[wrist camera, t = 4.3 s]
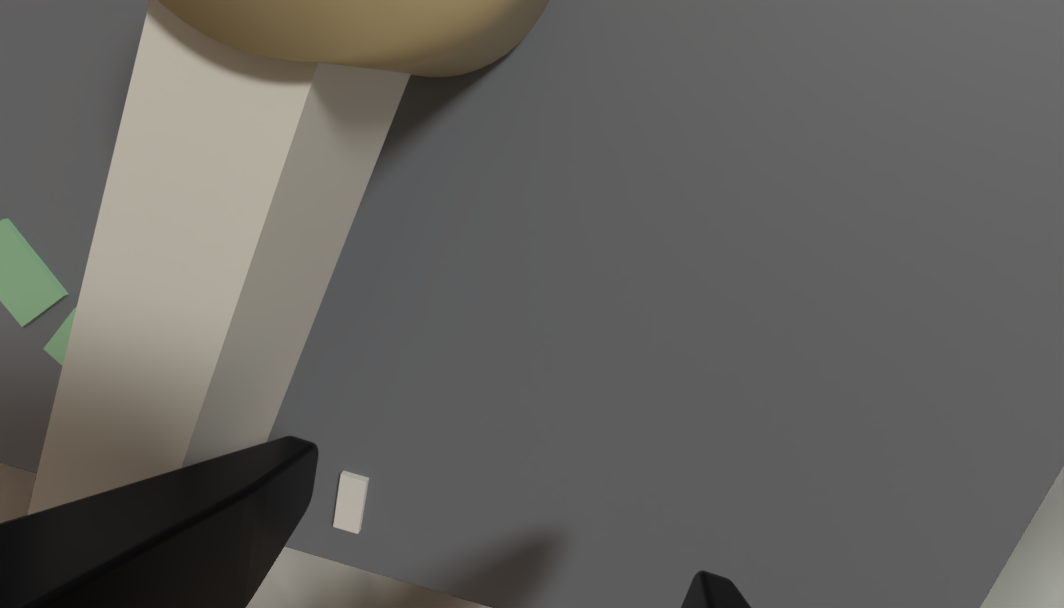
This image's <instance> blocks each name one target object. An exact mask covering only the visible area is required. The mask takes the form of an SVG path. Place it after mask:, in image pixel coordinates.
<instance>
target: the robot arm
mask: <svg viewBox="0 0 1064 608" xmlns="http://www.w3.org/2000/svg"><path fill="white" fill-rule="evenodd" d="M318 456H319V450H318V447H317V445H316V444H315V443H313V442H310V441H307V440H304V439H301V438H298V437H295V436H284V437H281V438H278V439H275V440H271V441H268V442H265V443H261V444H258V445H255V446H252V447H248V448H245V449H242V450H239V451H235V452H232V453H229V454H226V455H222V456H219V457H216V458H213V459H209V460H206V461H203V462H199V463H196V464H193V465H190V466H186V467H183V468H180V469H177V470H173V471H170V472H167V473H164V474H160V475H157V476H154V477H151V478H147V479H144V480H141V481H137V482H134V483H131V484H128V485H124V486H121V487H118V488H115V489H111V490H108V491H105V492H102V493H98V494H95V495H92V496H88V497H85V498H82V499H79V500H75V501H72V502H69V503H66V504H62V505H59V506H56V507H52V508H49V509H46V510H43V511H39V512H36V513H33V514H30V515H26V516H23V517H20V518H16V519H13V520H10V521H7V522H3V523H0V608H246V606H247V605H248V603H249V602H250V600H251V599H252V597H253V596H254V594H255V593H256V591H257V589H258V588H259V586H260V585H261V583H262V581H263V580H264V578H265V577H266V575H267V573H268V572H269V570H270V569H271V567H272V565H273V564H274V562H275V561H276V559H277V557H278V556H279V554H280V553H281V551H282V549H283V548H284V546H285V545H286V543H287V541H288V540H289V538H290V537H291V535H292V533H293V532H294V530H295V529H296V527H297V525H298V524H299V522H300V521H301V519H302V517H303V516H304V514H305V512H306V511H307V509H308V507H309V504H310V502H311V499H312V495H313V489H314V483H315V476H316V469H317V463H318ZM681 608H751V606H750V605H749V604H748V602H747V601H746V599H745V598H744V597H743V595H742V594H741V593H740V591H739V590H738V588H737V587H736V586H735V584H734V583H733V582H732V581H731V580H730V579H728V578H726V577H723V576H720V575H717V574H713V573H710V572H707V571H704V570H701V571H699V572H697V573H696V574H695V576H694V578H693V580H692V582H691V585H690V587H689V589H688V592H687V594H686V597H685V599H684V601H683V604H682V606H681Z"/></svg>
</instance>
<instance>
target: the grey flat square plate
mask: <svg viewBox="0 0 1064 608" xmlns="http://www.w3.org/2000/svg"><path fill="white" fill-rule="evenodd" d="M149 1H150V0H0V463H4V464H7V465H10V466H14V467H17V468H21V469H24V470H27V471H31V472H34V473H37V471H38V467H39V463H40V458H41V454H42V450H43V446H44V442H45V438H46V433H47V429H48V425H49V421H50V417H51V412H52V408H53V404H54V400H55V396H56V391H57V387H58V383H59V379H60V375H61V370H62V366H63V362H64V358H65V354H66V349H67V345H68V341H69V337H70V333H71V328H72V324H73V320H74V316H75V312H76V307H77V303H78V299H79V295H80V291H81V287H82V282H83V278H84V274H85V270H86V266H87V261H88V257H89V253H90V249H91V245H92V240H93V236H94V232H95V228H96V224H97V219H98V215H99V211H100V207H101V203H102V198H103V194H104V190H105V186H106V182H107V177H108V173H109V169H110V165H111V161H112V157H113V152H114V148H115V144H116V140H117V136H118V131H119V127H120V123H121V119H122V115H123V110H124V106H125V102H126V98H127V94H128V89H129V85H130V81H131V77H132V73H133V68H134V64H135V60H136V56H137V52H138V47H139V43H140V39H141V35H142V31H143V27H144V22H145V18H146V14H147V10H148V6H149ZM284 436H295V437H298V438H301V439H304V440H307V441H310V442H313V443H315V444H316V445H317V447H318V450H319V456H318V463H317V469H316V476H315V483H314V489H313V495H312V499H311V502H310V504H309V507H308V509H307V511H306V512H305V514H304V516H303V517H302V519H301V521H300V522H299V524H298V525H297V527H296V529H295V530H294V532H293V533H292V535H291V537H290V538H289V540H288V541H287V543H286V545H285V547H288V548H292V549H295V550H299V551H302V552H305V553H309V554H312V555H316V556H319V557H322V558H326V559H329V560H333V561H336V562H339V563H343V564H346V565H349V566H353V567H356V568H360V569H363V570H366V571H370V572H373V573H377V574H380V575H383V576H387V577H390V578H394V579H397V580H400V581H404V582H407V583H411V584H414V585H417V586H421V587H424V588H427V589H431V590H434V591H438V592H441V593H444V594H448V595H451V596H455V597H458V598H461V599H465V600H468V601H472V602H475V603H478V604H482V605H485V606H489V607H492V608H681V606H682V604H683V601H684V599H685V597H686V594H687V592H688V589H689V587H690V585H691V582H692V580H693V578H694V576H695V574H696V573H697V572H699V571H701V570H704V571H707V572H710V573H713V574H717V575H720V576H723V577H726V578H728V579H730V580H731V581H732V582H733V583H734V584H735V586H736V587H737V588H738V590H739V591H740V593H741V594H742V595H743V597H744V598H745V599H746V601H747V602H748V604H749V605H750V606H751V608H980V606H981V605H982V603H983V601H984V600H985V598H986V596H987V594H988V593H989V591H990V589H991V588H992V586H993V584H994V583H995V581H996V579H997V578H998V576H999V574H1000V572H1001V571H1002V569H1003V567H1004V566H1005V564H1006V562H1007V561H1008V559H1009V557H1010V556H1011V554H1012V552H1013V550H1014V549H1015V547H1016V545H1017V544H1018V542H1019V540H1020V539H1021V537H1022V535H1023V533H1024V532H1025V530H1026V528H1027V527H1028V525H1029V523H1030V522H1031V520H1032V518H1033V517H1034V515H1035V513H1036V511H1037V510H1038V508H1039V506H1040V505H1041V503H1042V501H1043V500H1044V498H1045V496H1046V495H1047V493H1048V491H1049V489H1050V488H1051V486H1052V484H1053V483H1054V481H1055V479H1056V478H1057V476H1058V474H1059V473H1060V471H1061V469H1062V467H1063V466H1064V0H549V2H548V4H547V6H546V7H545V9H544V11H543V13H542V15H541V16H540V18H539V19H538V21H537V22H536V24H535V25H534V26H533V28H532V29H531V31H530V32H529V33H528V34H527V35H526V36H525V37H524V38H523V39H522V41H521V42H520V43H519V44H517V45H516V46H515V47H514V48H513V49H512V50H510V51H509V52H508V53H507V54H506V55H504V56H502V57H501V58H499V59H498V60H496V61H495V62H493V63H491V64H489V65H487V66H485V67H483V68H481V69H478V70H476V71H472V72H469V73H466V74H462V75H457V76H450V77H424V76H415V75H410V77H409V80H408V82H407V85H406V87H405V90H404V92H403V95H402V98H401V100H400V103H399V105H398V108H397V110H396V113H395V115H394V118H393V121H392V123H391V126H390V128H389V131H388V133H387V136H386V138H385V141H384V143H383V146H382V149H381V151H380V154H379V156H378V159H377V161H376V164H375V166H374V169H373V172H372V174H371V177H370V179H369V182H368V184H367V187H366V189H365V192H364V194H363V197H362V200H361V202H360V205H359V207H358V210H357V212H356V215H355V217H354V220H353V223H352V225H351V228H350V230H349V233H348V235H347V238H346V240H345V243H344V245H343V248H342V251H341V253H340V256H339V258H338V261H337V263H336V266H335V268H334V271H333V274H332V276H331V279H330V281H329V284H328V286H327V289H326V291H325V294H324V296H323V299H322V302H321V304H320V307H319V309H318V312H317V314H316V317H315V319H314V322H313V325H312V327H311V330H310V332H309V335H308V337H307V340H306V342H305V345H304V347H303V350H302V353H301V355H300V358H299V360H298V363H297V365H296V368H295V370H294V373H293V376H292V378H291V381H290V383H289V386H288V388H287V391H286V393H285V396H284V398H283V401H282V404H281V406H280V409H279V411H278V414H277V416H276V419H275V421H274V424H273V427H272V429H271V432H270V434H269V437H268V439H267V442H268V441H271V440H275V439H278V438H281V437H284Z"/></svg>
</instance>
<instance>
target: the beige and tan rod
mask: <svg viewBox="0 0 1064 608" xmlns="http://www.w3.org/2000/svg"><path fill="white" fill-rule="evenodd" d="M548 2H549V0H150V1H149V6H148V10H147V14H146V18H145V22H144V27H143V31H142V35H141V39H140V43H139V47H138V52H137V56H136V60H135V64H134V68H133V73H132V77H131V81H130V85H129V89H128V94H127V98H126V102H125V106H124V110H123V115H122V119H121V123H120V127H119V131H118V136H117V140H116V144H115V148H114V152H113V157H112V161H111V165H110V169H109V173H108V177H107V182H106V186H105V190H104V194H103V198H102V203H101V207H100V211H99V215H98V219H97V224H96V228H95V232H94V236H93V240H92V245H91V249H90V253H89V257H88V261H87V266H86V270H85V274H84V278H83V282H82V287H81V291H80V295H79V299H78V303H77V307H76V312H75V316H74V320H73V324H72V328H71V333H70V337H69V341H68V345H67V349H66V354H65V358H64V362H63V366H62V370H61V375H60V379H59V383H58V387H57V391H56V396H55V400H54V404H53V408H52V412H51V417H50V421H49V425H48V429H47V433H46V438H45V442H44V446H43V450H42V454H41V458H40V463H39V467H38V471H37V475H36V479H35V484H34V488H33V492H32V496H31V500H30V505H29V509H28V513H27V515H30V514H33V513H36V512H39V511H43V510H46V509H49V508H52V507H56V506H59V505H62V504H66V503H69V502H72V501H75V500H79V499H82V498H85V497H88V496H92V495H95V494H98V493H102V492H105V491H108V490H111V489H115V488H118V487H121V486H124V485H128V484H131V483H134V482H137V481H141V480H144V479H147V478H151V477H154V476H157V475H160V474H164V473H167V472H170V471H173V470H177V469H180V468H183V467H186V466H190V465H193V464H196V463H199V462H203V461H206V460H209V459H213V458H216V457H219V456H222V455H226V454H229V453H232V452H235V451H239V450H242V449H245V448H248V447H252V446H255V445H258V444H261V443H265V442H267V439H268V437H269V434H270V432H271V429H272V427H273V424H274V421H275V419H276V416H277V414H278V411H279V409H280V406H281V404H282V401H283V398H284V396H285V393H286V391H287V388H288V386H289V383H290V381H291V378H292V376H293V373H294V370H295V368H296V365H297V363H298V360H299V358H300V355H301V353H302V350H303V347H304V345H305V342H306V340H307V337H308V335H309V332H310V330H311V327H312V325H313V322H314V319H315V317H316V314H317V312H318V309H319V307H320V304H321V302H322V299H323V296H324V294H325V291H326V289H327V286H328V284H329V281H330V279H331V276H332V274H333V271H334V268H335V266H336V263H337V261H338V258H339V256H340V253H341V251H342V248H343V245H344V243H345V240H346V238H347V235H348V233H349V230H350V228H351V225H352V223H353V220H354V217H355V215H356V212H357V210H358V207H359V205H360V202H361V200H362V197H363V194H364V192H365V189H366V187H367V184H368V182H369V179H370V177H371V174H372V172H373V169H374V166H375V164H376V161H377V159H378V156H379V154H380V151H381V149H382V146H383V143H384V141H385V138H386V136H387V133H388V131H389V128H390V126H391V123H392V121H393V118H394V115H395V113H396V110H397V108H398V105H399V103H400V100H401V98H402V95H403V92H404V90H405V87H406V85H407V82H408V80H409V77H410V75H415V76H424V77H450V76H457V75H462V74H466V73H469V72H472V71H476V70H478V69H481V68H483V67H485V66H487V65H489V64H491V63H493V62H495V61H496V60H498V59H499V58H501V57H502V56H504V55H506V54H507V53H508V52H509V51H510V50H512V49H513V48H514V47H515V46H516V45H517V44H519V43H520V42H521V41H522V39H523V38H524V37H525V36H526V35H527V34H528V33H529V32H530V31H531V29H532V28H533V26H534V25H535V24H536V22H537V21H538V19H539V18H540V16H541V15H542V13H543V11H544V9H545V7H546V6H547V4H548Z"/></svg>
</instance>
